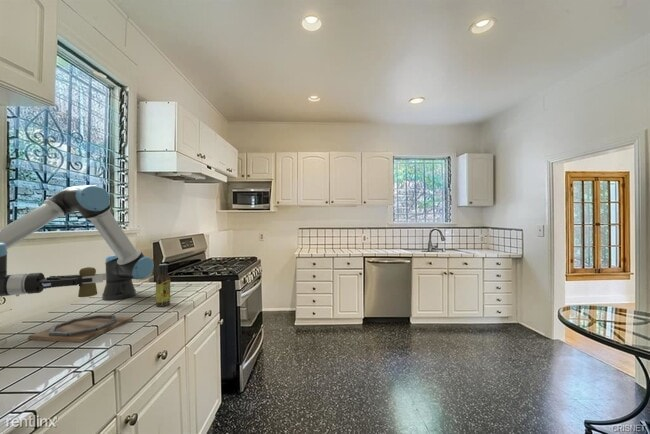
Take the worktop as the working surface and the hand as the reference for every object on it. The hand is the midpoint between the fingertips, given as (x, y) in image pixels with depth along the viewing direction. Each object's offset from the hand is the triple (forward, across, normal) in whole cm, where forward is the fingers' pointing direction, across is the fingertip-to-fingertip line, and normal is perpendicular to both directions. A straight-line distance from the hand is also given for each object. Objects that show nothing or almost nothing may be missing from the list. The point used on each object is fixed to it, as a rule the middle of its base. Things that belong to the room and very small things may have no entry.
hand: (104, 277), depth 120 cm
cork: (-5, 0, -7) cm, 9 cm away
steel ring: (-6, +4, -17) cm, 19 cm away
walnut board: (-6, +4, -19) cm, 20 cm away
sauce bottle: (+20, -17, -19) cm, 32 cm away
